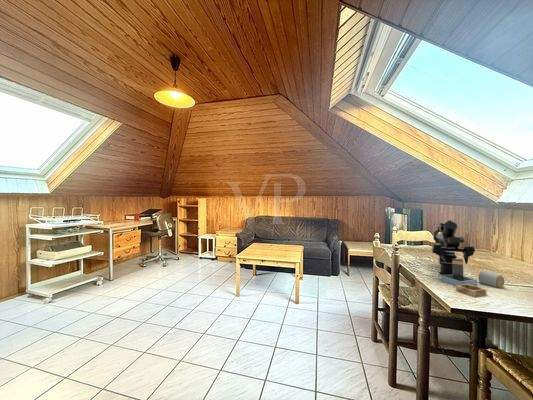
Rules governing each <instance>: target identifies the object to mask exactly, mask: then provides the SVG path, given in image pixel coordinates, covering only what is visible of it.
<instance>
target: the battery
mask: <svg viewBox="0 0 533 400" xmlns="http://www.w3.org/2000/svg"><path fill="white" fill-rule="evenodd" d="M452 264H453V279H455V280H458V281H464V277H465V275H464V259H462V258H459V257H457V258H456V259H455V258H454V259H452Z"/></svg>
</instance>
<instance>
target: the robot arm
mask: <svg viewBox="0 0 533 400" xmlns="http://www.w3.org/2000/svg"><path fill="white" fill-rule="evenodd" d="M457 229H458V224H457V223H455V222H454V221H452V220H451V219H450V220H447V221H446V222H445V221H444V222H442V221H441V222H439V224H438V226H437V228H436V230H435V231H434V232H433V241H434V242H435V243H434V244H432V248H431V252H432V253H433V254H435V255H437V256H438V264H439V265H440V271H439V272H438V273H439V274H441V275H451V274H453V264H452V259H454V258H455V259H456V258H458V256H457V255H456V253H462V255H463V261H464V263H465V265H467V264H468V262H469V258H470V257H471V256H473V255H474V254H475V252H476V249H475V247H474V246H472V245H471V246H470V245H464V247H462V248H461V247H460V246H461V245H460V244H463V243H465V238H464V237H463V236H459V237H458V236H455V235H456V232H457ZM440 233H441V234H440Z"/></svg>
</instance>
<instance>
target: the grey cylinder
mask: <svg viewBox="0 0 533 400" xmlns="http://www.w3.org/2000/svg"><path fill="white" fill-rule="evenodd" d="M478 282H479V283H478V284H483V285H486V286H491V287H494V288H497V289H502V288H503V287H504V286H505V285H504V284H505V278H504V276H503V275H501V274H498V273H494V272H491V271H488V270H485V269H483V270H481V271H480V272H479V274H478Z"/></svg>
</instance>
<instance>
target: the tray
mask: <svg viewBox="0 0 533 400" xmlns="http://www.w3.org/2000/svg"><path fill="white" fill-rule="evenodd" d="M440 281H441V282H442V283H445V284H449V285H452V286H455V287H456V285H462V284H470V285H473V286H477V287H478V280H477V279H474V278H471V277H467V276H464V281H458V280H455V279H453V274H451V275H444V274H441V275H440Z"/></svg>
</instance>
